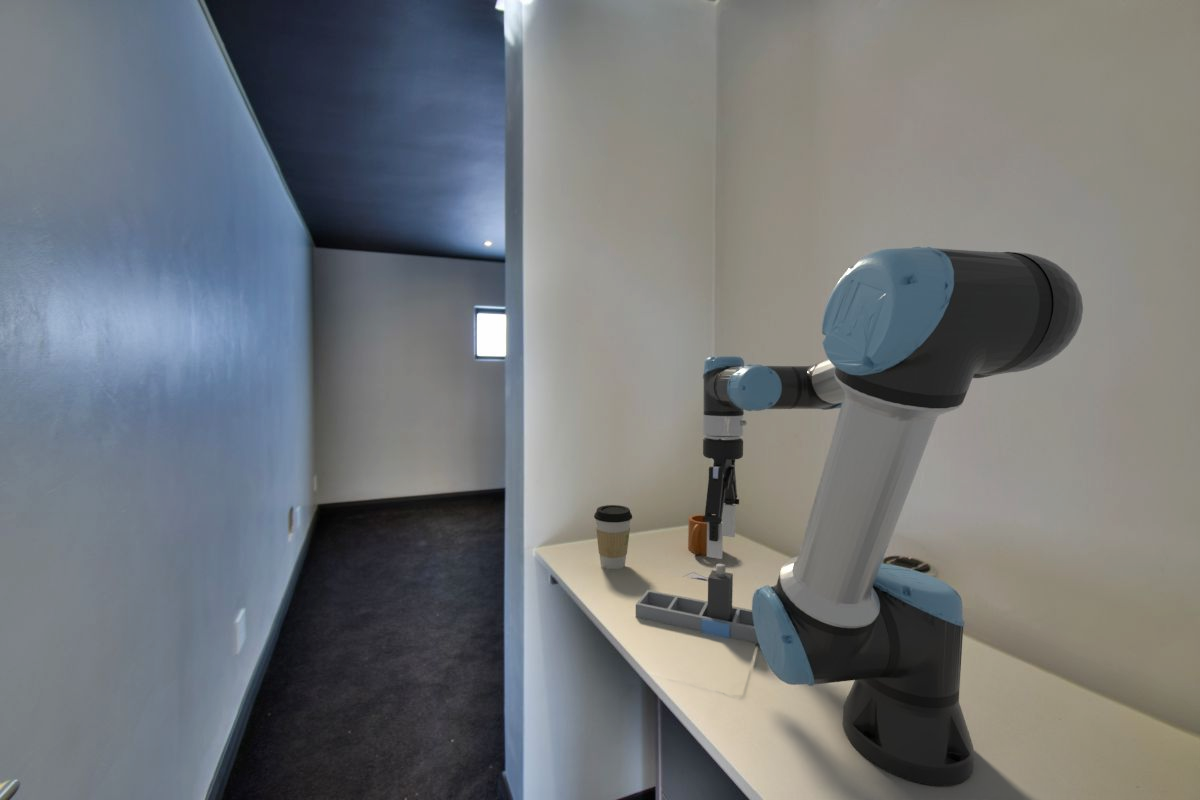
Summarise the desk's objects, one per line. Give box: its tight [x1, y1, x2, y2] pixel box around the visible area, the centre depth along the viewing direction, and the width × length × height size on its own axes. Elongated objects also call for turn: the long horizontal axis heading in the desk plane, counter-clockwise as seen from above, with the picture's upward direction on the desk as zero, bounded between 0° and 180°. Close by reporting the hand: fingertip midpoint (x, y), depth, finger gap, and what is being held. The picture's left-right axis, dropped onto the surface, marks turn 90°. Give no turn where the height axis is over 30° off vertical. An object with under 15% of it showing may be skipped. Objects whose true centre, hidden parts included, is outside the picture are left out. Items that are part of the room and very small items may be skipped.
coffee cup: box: [593, 504, 633, 570], centre depth 129 cm, size 10×10×15 cm
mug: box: [687, 514, 707, 556], centre depth 141 cm, size 9×12×9 cm
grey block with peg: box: [707, 563, 734, 622], centre depth 98 cm, size 4×4×12 cm
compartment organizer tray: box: [635, 589, 760, 648], centre depth 99 cm, size 8×26×3 cm, turn 66°
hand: (721, 546), depth 97 cm, fingers open, 13 cm apart
